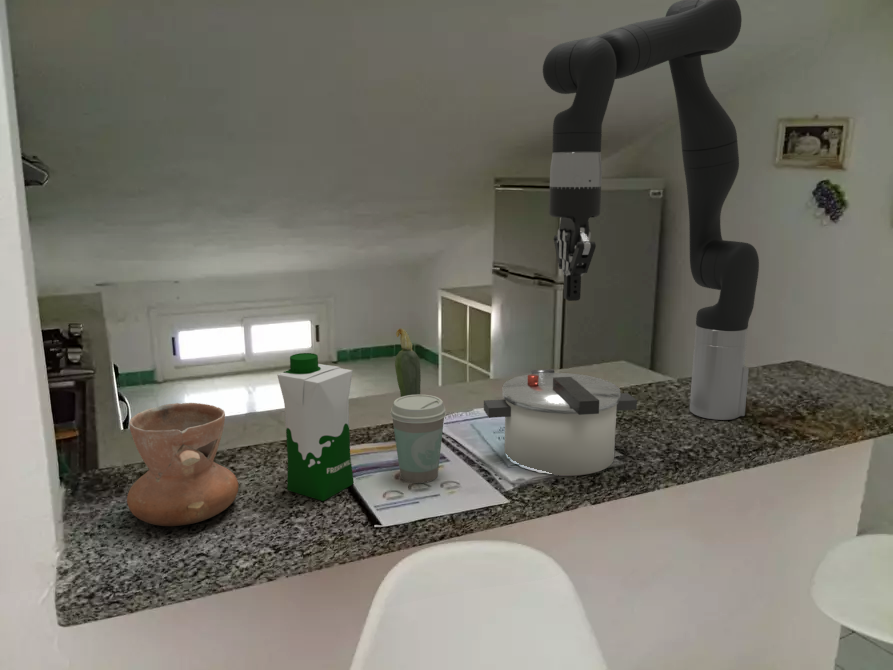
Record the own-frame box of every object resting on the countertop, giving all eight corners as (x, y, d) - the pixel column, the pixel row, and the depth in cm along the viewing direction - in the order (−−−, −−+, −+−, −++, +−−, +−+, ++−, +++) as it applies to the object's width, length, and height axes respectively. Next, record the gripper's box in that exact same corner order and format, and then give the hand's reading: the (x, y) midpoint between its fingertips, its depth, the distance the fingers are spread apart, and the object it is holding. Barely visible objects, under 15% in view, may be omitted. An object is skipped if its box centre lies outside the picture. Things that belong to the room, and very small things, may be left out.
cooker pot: (609, 430, 131) (612, 377, 128) (651, 470, 113) (655, 409, 111) (475, 438, 127) (475, 384, 125) (497, 480, 110) (498, 418, 107)
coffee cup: (405, 491, 106) (404, 414, 104) (383, 470, 114) (381, 398, 111) (456, 480, 110) (456, 405, 107) (431, 460, 117) (431, 390, 115)
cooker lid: (591, 375, 131) (592, 356, 130) (650, 420, 106) (651, 397, 106) (489, 380, 128) (489, 361, 127) (525, 427, 104) (525, 404, 103)
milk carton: (318, 470, 114) (312, 348, 109) (363, 483, 109) (359, 355, 105) (278, 491, 106) (270, 360, 102) (324, 506, 102) (318, 369, 97)
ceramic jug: (253, 525, 96) (246, 423, 93) (136, 551, 89) (125, 442, 87) (224, 478, 112) (218, 390, 109) (122, 498, 105) (113, 404, 102)
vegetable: (422, 434, 129) (421, 325, 125) (419, 443, 125) (418, 330, 120) (398, 433, 130) (396, 325, 125) (394, 442, 125) (392, 330, 121)
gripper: (616, 184, 101) (611, 306, 104) (584, 183, 113) (580, 292, 117) (564, 185, 100) (561, 308, 103) (538, 183, 112) (536, 293, 116)
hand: (571, 299), depth 110 cm, fingers closed
